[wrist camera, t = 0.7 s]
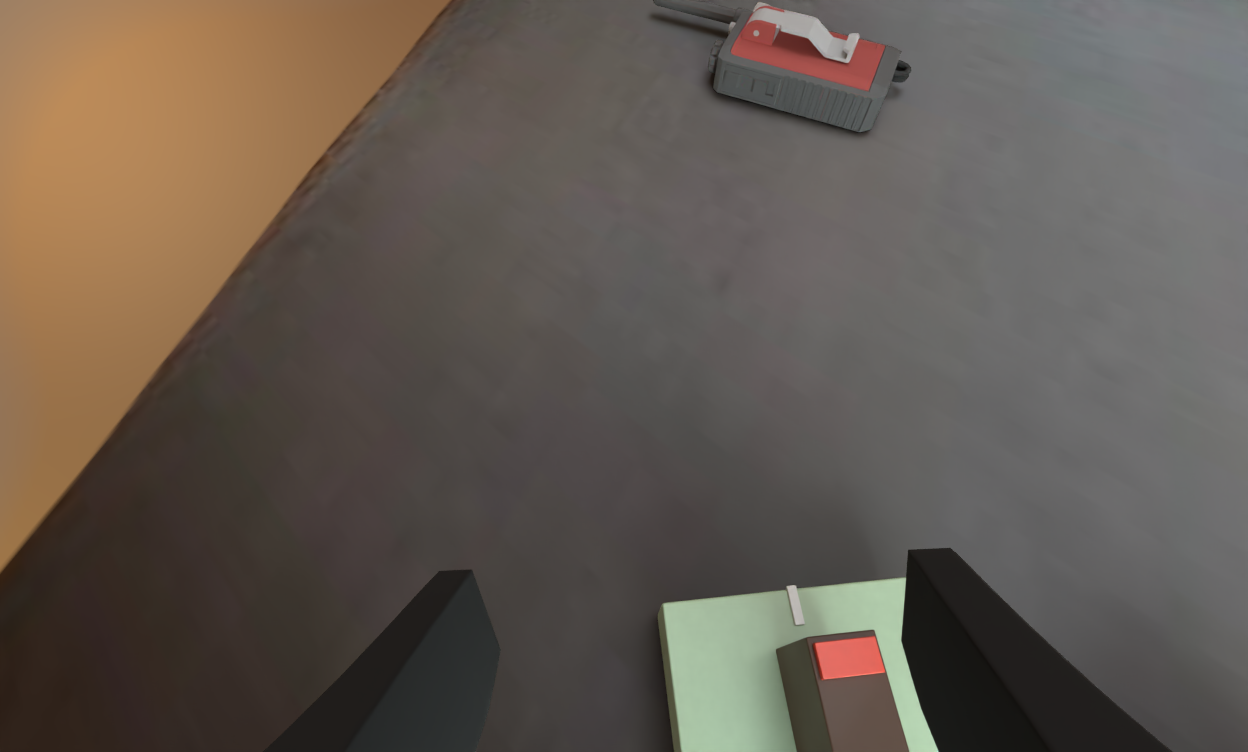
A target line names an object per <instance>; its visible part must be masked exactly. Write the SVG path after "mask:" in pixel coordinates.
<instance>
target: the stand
mask: <svg viewBox="0 0 1248 752" xmlns="http://www.w3.org/2000/svg"><path fill="white" fill-rule="evenodd" d="M905 586H906V577H901V578H891V579H882V580H873V581H863V582H854V583H845V584H835V585H826V586H817V587H807V588H798V589H797V588H796V585H792V586H786V590H779V591H770V592H761V593H751V594H742V595H733V596H724V597H714V598H705V599H696V600H686V601H677V602H668V603H663V604H662V606H661V608H660V611H659V613H658V624H659V633H660V641H661V649H662V657H663V665H664V673H665V682H666V690H667V698H668V706H669V714H670V723H671V731H672V739H673V747H674V752H797V750H796V745H795V740H794V735H793V731H792V726H791V721H790V716H789V711H788V707H787V702H786V697H785V692H784V687H783V683H782V678H781V673H780V668H779V663H778V659H777V654H776V649H777V648H780V647H782V646H785V645H787V644H790V643H793V642H795V641H798V640H800V639H803V638H806V637H810V636H819V635H828V634H837V633H846V632H855V631H864V630H874V631H875V634H876V637H877V641H878V644H879V648H880V651H881V655H882V658H883V661H884V665H885V668H886V672H887V675H888V679H889V682H890V686H891V689H892V693H893V696H894V700H895V703H896V707H897V710H898V714H899V717H900V721H901V724H902V728H903V731H904V735H905V738H906V742H907V745H908V748H909V752H939V751H938V749H937V747H936V744H935V742H934V739H933V737H932V734H931V732H930V729H929V727H928V725H927V722H926V720H925V717H924V715H923V712H922V710H921V707H920V703H919V700H918V697H917V693H916V690H915V687H914V684H913V680H912V677H911V674H910V670H909V666H908V663H907V659H906V656H905V652H904V649H903V645H902V642H901V636H902V624H903V611H904V598H905Z"/></svg>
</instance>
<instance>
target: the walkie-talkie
mask: <svg viewBox="0 0 1248 752" xmlns="http://www.w3.org/2000/svg"><path fill="white" fill-rule="evenodd" d="M653 1H654V3H655V4H656V5H658V6H661V7H665V8H669V9H673V10H677V11H681V12H684V13H688V14H692V15H696V16H700V17H704V18H708V19H712V20H716V21H720V22H723V23H727V24H730V26H729V30H730V32H728V34H729V35H728V37H727V39H726V40H725V42H724V41H722V40H717V41H716V42H715V43H714V45H713V48H712V51H711V54H710V58H709V63H708V69H709V72H711V73H715V79H714V85H713V89H714V90H715V91H716V92H718V93H722V94H725V95H729V96H732V97H736V98H739V99H743V100H747V101H750V102H754V103H757V104H761V105H764V106H768V107H771V108H775V109H779V110H782V111H786V112H789V113H793V114H796V115H800V116H803V117H807V118H810V119H814V120H818V121H821V122H825V123H828V124H832V125H835V126H839V127H843V128H846V129H850V130H853V131H857V132H863V131H867V130H871V129H872V126H873V124H874V122H875V120H876V117H877V115H878V113H879V110H880V108H881V106H882V104H883V101H884V99H885V97H886V94H887V92H888V89H889V87H890V84H891V81H892V82H904V81H905V80H906V79H907V78H908V77H909V73H910V72H911V67H910V66H909V65H908V64H907V63H905V62H903V61H901V60H899V57H900V54H901V52H902V51H900V50H898V49H896V48H894V47H892V46H888V45H884V44H880V43H876V42H872V41H868V40H864V39H860V38H859V34H857V33H850V34H849V36H848V35H844V34H840V33H836V32H832V31H828V30H827V29H826V28H825V27H824V26H823V25H822V23H821V22H820V21H819V20H818V19H817V18H815V17H811V16H808V15H804V14H800V13H795V12H791V11H787V10H783V9H779V8H775V7H771V6H769V5H768V4H765V3H761V2H758V3H757V5H756V6H755V8H754V10H753V11H750V10H746V9H742V8H738V9H732V8H728V7H724V6H720V5H716V4H712V3H709V2H705V1H701V0H653Z"/></svg>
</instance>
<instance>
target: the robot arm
mask: <svg viewBox="0 0 1248 752" xmlns="http://www.w3.org/2000/svg"><path fill="white" fill-rule="evenodd" d="M901 642H902V645H903V649H904V652H905V656H906V659H907V663H908V666H909V670H910V674H911V677H912V680H913V684H914V687H915V690H916V693H917V697H918V700H919V703H920V707H921V710H922V712H923V715H924V717H925V720H926V722H927V725H928V727H929V729H930V732H931V734H932V737H933V739H934V742H935V744H936V747H937V749H938V751H939V752H1172V751H1171V750H1170V749H1169V748H1168V747H1166V746H1165V745H1164V744H1163V743H1161V742H1160V741H1159V740H1158V739H1157V738H1156V737H1154V736H1153V735H1152V734H1151V733H1150V732H1148V731H1147V730H1146V729H1145V728H1144V727H1143V726H1141V725H1140V724H1139V723H1138V722H1137V721H1136V720H1134V719H1133V718H1132V717H1131V716H1130V715H1128V714H1127V713H1126V712H1125V711H1124V710H1123V709H1121V708H1120V707H1119V706H1118V705H1117V704H1116V703H1114V702H1113V701H1112V700H1111V699H1110V698H1109V697H1108V696H1106V695H1105V694H1104V693H1103V692H1102V691H1101V690H1100V689H1098V688H1097V687H1096V686H1095V685H1094V684H1093V683H1092V682H1091V681H1089V680H1088V679H1087V678H1086V677H1085V676H1084V675H1083V674H1082V673H1081V672H1080V671H1079V670H1077V669H1076V668H1075V667H1074V666H1073V665H1072V664H1071V663H1070V662H1069V661H1068V660H1066V659H1065V658H1064V657H1063V656H1062V655H1061V654H1060V653H1059V652H1058V651H1057V650H1056V649H1054V648H1053V647H1052V646H1051V645H1050V644H1049V643H1048V642H1047V641H1046V640H1045V639H1044V638H1043V637H1041V636H1040V635H1039V634H1038V633H1037V632H1036V631H1035V630H1034V629H1033V628H1032V627H1031V626H1030V625H1029V624H1028V623H1027V622H1026V621H1025V620H1024V619H1023V618H1022V617H1021V616H1019V615H1018V614H1017V613H1016V612H1015V611H1014V610H1013V609H1012V608H1011V607H1010V606H1009V605H1008V604H1007V603H1006V602H1005V601H1004V600H1003V599H1002V598H1001V597H1000V596H999V595H998V594H997V593H996V592H995V591H994V590H993V589H992V588H991V587H990V586H989V585H988V584H987V583H986V582H985V581H984V580H983V579H982V578H981V577H980V576H979V575H978V574H977V573H976V572H975V571H974V570H973V569H972V568H971V567H970V566H969V565H968V564H967V563H966V562H965V561H964V560H963V559H962V558H961V557H960V556H959V555H958V554H957V553H956V552H954V551H953V550H952V549H951V548H939V549H917V550H908V560H907V573H906V586H905V598H904V611H903V624H902V636H901ZM500 651H501V650H500V647H499V644H498V641H497V638H496V636H495V633H494V630H493V627H492V624H491V622H490V619H489V616H488V613H487V610H486V608H485V605H484V602H483V599H482V596H481V594H480V591H479V588H478V585H477V582H476V580H475V577H474V574H473V571H472V570H452V571H439V572H438V573H437V574H436V575H435V576H434V577H433V578H432V579H431V580H430V581H429V582H428V583H427V584H426V585H425V587H424V588H423V589H422V590H421V591H420V592H419V593H418V594H417V595H416V596H415V597H414V598H413V599H412V600H411V602H410V603H409V604H408V605H407V606H406V607H405V608H404V609H403V610H402V611H401V612H400V614H399V615H398V616H397V617H396V618H395V619H394V620H393V621H392V622H391V623H390V624H389V625H388V627H387V628H386V629H385V630H384V631H383V632H382V633H381V634H380V635H379V636H378V637H377V638H376V639H375V640H374V641H373V643H372V644H371V645H370V646H369V647H368V648H367V649H366V650H365V651H364V652H363V653H362V654H361V655H360V656H359V657H358V658H357V659H356V660H355V662H354V663H353V664H352V665H351V666H350V667H349V668H348V669H347V670H346V671H345V672H344V673H343V674H342V675H341V676H340V677H339V678H338V679H337V680H336V681H335V682H334V683H333V684H332V685H331V686H330V687H329V688H328V689H327V690H326V691H325V692H324V693H323V694H322V695H321V696H320V697H319V698H318V699H317V700H316V701H315V702H314V703H313V704H312V705H311V706H310V707H309V708H308V709H307V710H306V711H305V712H304V713H303V714H302V715H301V716H300V717H299V718H298V719H297V720H296V721H295V722H294V723H293V724H292V725H291V726H290V727H289V728H288V729H287V730H285V731H284V732H283V733H282V734H281V735H280V736H279V737H278V738H277V739H276V740H275V741H274V742H273V743H272V744H271V745H270V746H269V747H268V748H266V749H265V750H264V751H263V752H475V751H476V748H477V745H478V742H479V739H480V736H481V733H482V730H483V726H484V723H485V720H486V717H487V713H488V710H489V705H490V701H491V696H492V691H493V687H494V682H495V677H496V672H497V666H498V661H499V656H500Z"/></svg>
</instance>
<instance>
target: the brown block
mask: <svg viewBox="0 0 1248 752" xmlns="http://www.w3.org/2000/svg"><path fill="white" fill-rule="evenodd" d="M776 654H777V659H778V663H779V668H780V673H781V678H782V683H783V687H784V692H785V697H786V702H787V707H788V711H789V716H790V721H791V726H792V731H793V735H794V740H795V745H796V750H797V752H909V748H908V745H907V742H906V738H905V735H904V731H903V728H902V724H901V721H900V717H899V714H898V710H897V707H896V703H895V700H894V696H893V693H892V689H891V686H890V682H889V679H888V675H887V672H886V668H885V665H884V661H883V658H882V655H881V651H880V648H879V644H878V641H877V637H876V634H875V631H874V630H864V631H855V632H846V633H837V634H828V635H819V636H810V637H806V638H803V639H800V640H798V641H795V642H793V643H790V644H787V645H785V646H782V647H780V648H777V649H776Z"/></svg>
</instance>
